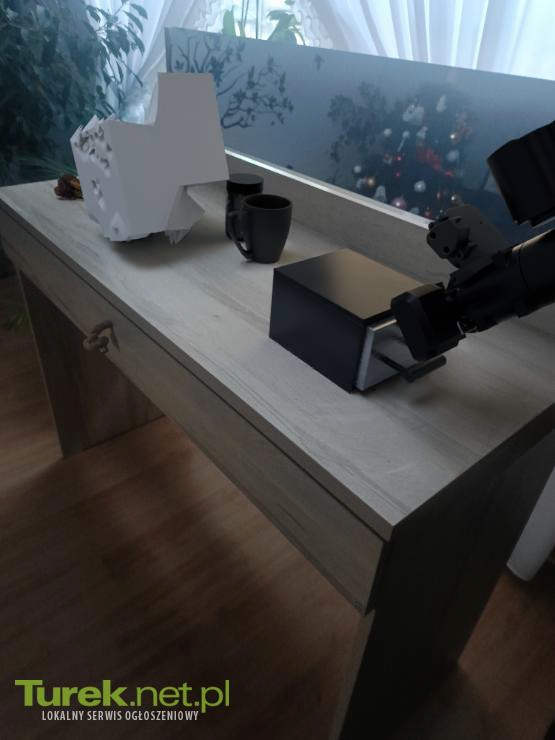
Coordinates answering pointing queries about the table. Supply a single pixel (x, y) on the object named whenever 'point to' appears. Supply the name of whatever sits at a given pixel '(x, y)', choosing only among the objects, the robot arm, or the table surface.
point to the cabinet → (332, 309)
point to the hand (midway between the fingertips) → (408, 328)
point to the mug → (262, 226)
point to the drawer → (389, 355)
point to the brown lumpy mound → (68, 186)
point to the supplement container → (240, 197)
